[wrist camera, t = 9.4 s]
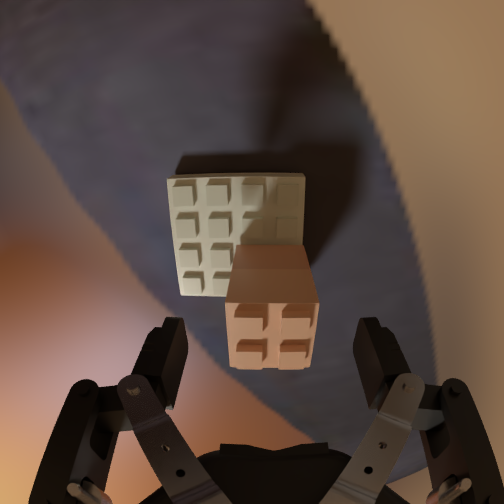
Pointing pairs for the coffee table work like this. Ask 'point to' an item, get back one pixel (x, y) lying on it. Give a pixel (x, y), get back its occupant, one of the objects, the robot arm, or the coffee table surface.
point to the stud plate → (229, 222)
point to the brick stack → (271, 308)
